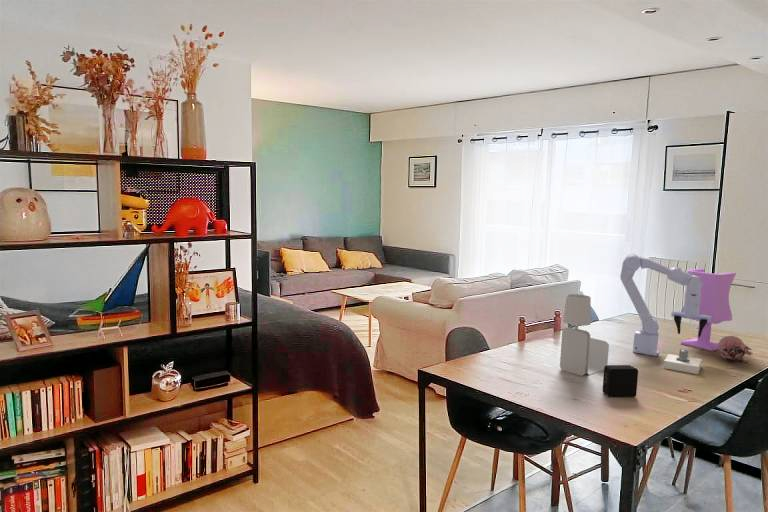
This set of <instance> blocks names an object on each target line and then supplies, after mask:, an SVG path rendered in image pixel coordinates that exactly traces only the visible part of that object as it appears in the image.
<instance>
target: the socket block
mask: <svg viewBox="0 0 768 512" xmlns="http://www.w3.org/2000/svg"><path fill="white" fill-rule="evenodd" d="M701 367H702V359H701V358H696V357H695V358H694V357H691V356H690V357H688V358H687V362H683V361H679V354H678V355H677V354H671V353H668V354H667V356H666V357H665V359H664V360H663V368H664V369H667V370H668V369H669V370H673V371H678V372H684V373H690V374H694V375H695V374H696V375H699V373H700V370H701Z"/></svg>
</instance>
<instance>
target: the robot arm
mask: <svg viewBox="0 0 768 512" xmlns="http://www.w3.org/2000/svg"><path fill="white" fill-rule="evenodd" d="M639 268H641V269H643V270H644V269H650V270H653V271H655V272H658V273H660V274H663V275H665V276H666V277H667V279H668V280H669V281H672V282H674V283H677V284H678V285H681V286H686V288H685V294H684V302H683V304H684V305H683V307H684V312H681V311H675V310H674V311H673V310H672V311H671V317H673V320H674V322H675V325H676V328H677V335H680V334H681V323H682V317H683V319H688V318H691V319H690V320H693V319H699V320H700V328H699V327H698V329H699V334H698V333H697V338H698V337H700V336H701V332H702V330H703V328H704V326H705V325H706V323H707V321H711V316H707V315H701V314H699V307H700V296H701V294H700V292H701V288H702V286H703V284H702V280H701V279H700V278H699V277H698V276H696V275H692V273H687V271H685V270H682V268H681V267H679V266H677V267H676V266H675V267H674V266H673V267H668V266H665V265H663V264H661V263H658V262H657V261H654V260H652V259H650V258H648V257H644V256H640V255H639V256H638V255H637V254H634V253H632V254H627V256H625V258H624V260H623V262H622V266H621V271H620V276H619V277H620V281H621V282H622V284H623V287H624V289H625V291H626V293H627V294H628V297H629V298H630V299H629V300H631V302H632V304H633V307H634V308H635V310H636V313H637V314H638V317H639V319H640V321H641V325H642V328H641V329H640V330H639V331H638V330H636V331H634V337H633V347H632V348H633V349H632V352H633V353H637V354H638V353H639V354H643V355H648V356H649V355H650V356H655V357H656V356H658V354H659V352H660V351H659V350H658V345H659V344H658V342H659V324H658V320H657V319H656V318H655V316H653V315H652V313H651V311H650V310H649V308H648V306H647V305H646V302H645V300H644V298H643V296H642V294H641V292H640V291H639V289H638V286H637V285H636V282H635V281H634V278H633V277H634V275H635V273H636V271H638V270H639ZM686 316H687V317H686ZM694 317H696V318H694Z"/></svg>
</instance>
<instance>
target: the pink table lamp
mask: <svg viewBox="0 0 768 512" xmlns="http://www.w3.org/2000/svg"><path fill="white" fill-rule="evenodd" d="M686 272H687V273H692V275H696V276H698V277H699V278H700V279H701V280H702V284H703V286H702V288H701V292H700V294H701V296H700V307H699V314H701V315H707V316H711V321H707V323H706V325H705V326H704V328H703V330H702V332H701V336H700V337H698V336H697V338H696V337H694V338H691V339H690V338H689V339H686V340H682V341H681V342H680V345H682V346H687V347H691V348H695V349H700V350H703V351H704V350H705V351H707V350H708V352H711V351H712V352H714V351H719V349H718V343H719V342H715V341H711V335H712V334H711V333H712V324H713V325H717V324H721V323H723V322H730V321H733V313H732V310H731V307H730V296H729V295H730V289H731V288H732V287H731V286H732V284H733V282H734V279H735V277H736V275H737V272H724V273H710V272H705V269H704V268H695V269H694V268H692V269H687V270H686ZM680 312H684V306H682V309H681V311H680ZM686 317H687V316H686ZM682 318H683V317H681V319H682ZM694 318H696V317H694ZM683 319H684V318H683ZM687 319H689V320H693V321H697V322H698V330H697V335H698V334H699V328H700V320H699V319H691V318H687Z"/></svg>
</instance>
